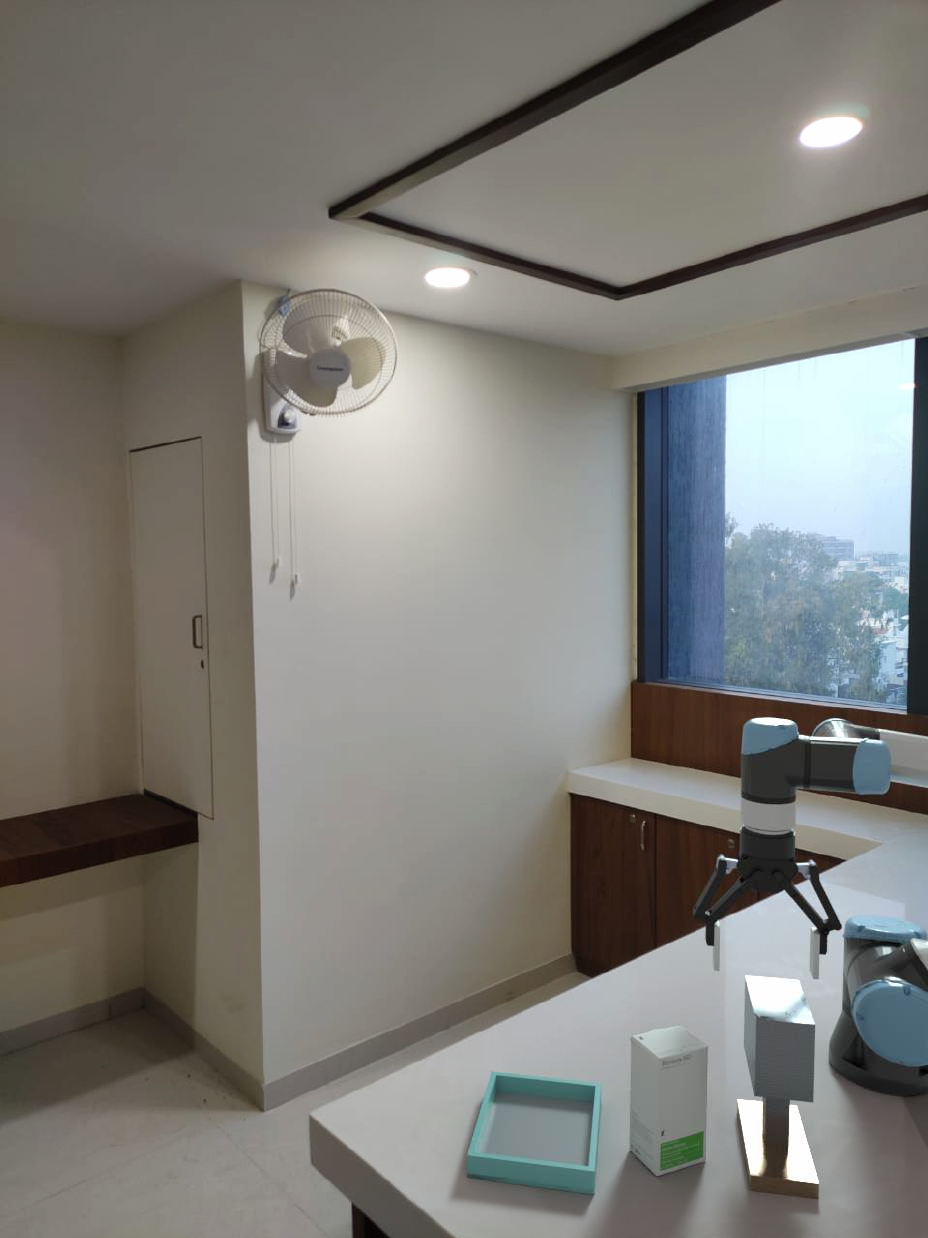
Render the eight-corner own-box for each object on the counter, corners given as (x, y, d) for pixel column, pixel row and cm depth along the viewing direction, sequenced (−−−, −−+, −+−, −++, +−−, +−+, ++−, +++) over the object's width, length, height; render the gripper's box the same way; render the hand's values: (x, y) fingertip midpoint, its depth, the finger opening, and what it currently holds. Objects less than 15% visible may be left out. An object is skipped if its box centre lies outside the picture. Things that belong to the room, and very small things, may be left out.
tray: (601, 1103, 129) (601, 1083, 129) (594, 1195, 111) (594, 1171, 111) (491, 1091, 133) (491, 1071, 132) (467, 1178, 114) (467, 1155, 114)
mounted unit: (796, 1119, 126) (799, 973, 124) (818, 1199, 110) (822, 1033, 109) (737, 1113, 127) (739, 968, 126) (750, 1190, 112) (753, 1027, 110)
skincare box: (655, 1179, 114) (657, 1060, 113) (625, 1148, 120) (627, 1035, 119) (708, 1161, 117) (710, 1045, 116) (677, 1131, 123) (678, 1021, 122)
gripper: (854, 824, 130) (850, 966, 131) (677, 815, 135) (675, 952, 136) (866, 840, 123) (862, 991, 124) (679, 829, 128) (677, 975, 129)
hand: (764, 971), depth 130 cm, fingers open, 13 cm apart
